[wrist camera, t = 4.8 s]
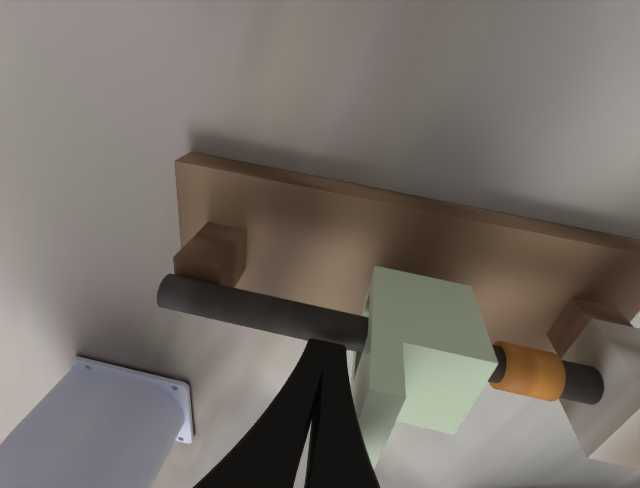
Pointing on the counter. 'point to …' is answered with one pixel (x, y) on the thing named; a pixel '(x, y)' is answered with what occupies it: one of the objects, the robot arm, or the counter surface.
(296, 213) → the cord rail
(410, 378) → the sleeve
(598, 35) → the counter surface
